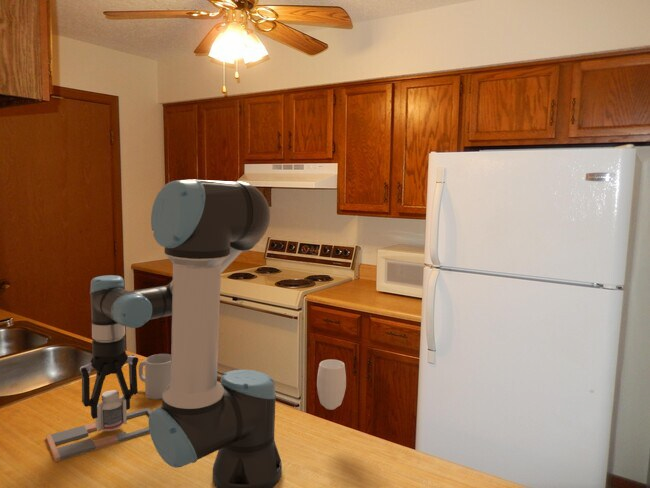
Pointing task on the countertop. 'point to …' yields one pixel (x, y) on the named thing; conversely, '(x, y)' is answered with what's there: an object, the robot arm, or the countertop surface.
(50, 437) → the keyhole board
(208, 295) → the robot arm
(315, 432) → the countertop surface
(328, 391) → the cup
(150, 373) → the mug
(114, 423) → the pill bottle
